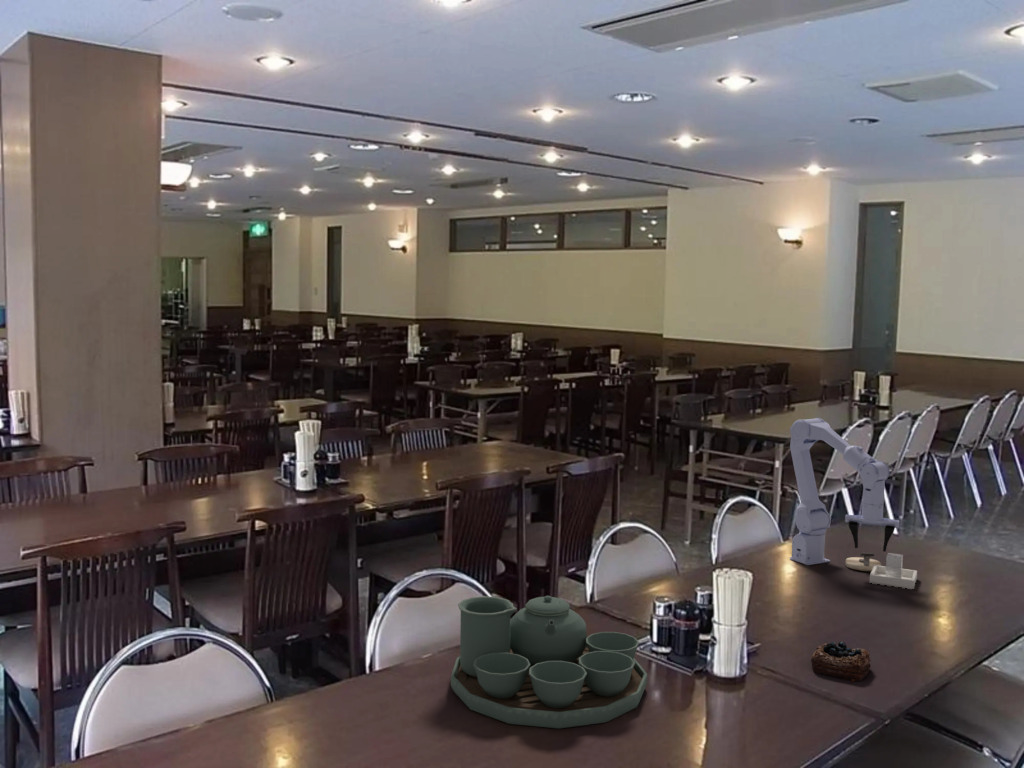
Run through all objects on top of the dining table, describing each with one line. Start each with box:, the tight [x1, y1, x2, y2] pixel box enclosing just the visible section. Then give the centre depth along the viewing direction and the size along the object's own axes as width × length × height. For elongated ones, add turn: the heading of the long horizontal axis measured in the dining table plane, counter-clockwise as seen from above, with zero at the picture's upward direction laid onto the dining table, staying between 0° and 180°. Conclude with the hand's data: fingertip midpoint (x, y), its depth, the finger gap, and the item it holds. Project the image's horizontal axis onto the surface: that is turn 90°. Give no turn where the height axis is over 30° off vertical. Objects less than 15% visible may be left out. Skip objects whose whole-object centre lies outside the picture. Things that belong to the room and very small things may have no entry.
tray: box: [869, 565, 918, 590], centre depth 264 cm, size 12×12×2 cm
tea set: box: [450, 595, 648, 729], centre depth 188 cm, size 40×40×16 cm
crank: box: [844, 551, 882, 572], centre depth 278 cm, size 10×10×5 cm
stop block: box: [885, 552, 904, 578], centre depth 264 cm, size 4×4×7 cm
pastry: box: [810, 641, 872, 683], centre depth 199 cm, size 11×12×6 cm
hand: (870, 549), depth 267 cm, fingers open, 7 cm apart
